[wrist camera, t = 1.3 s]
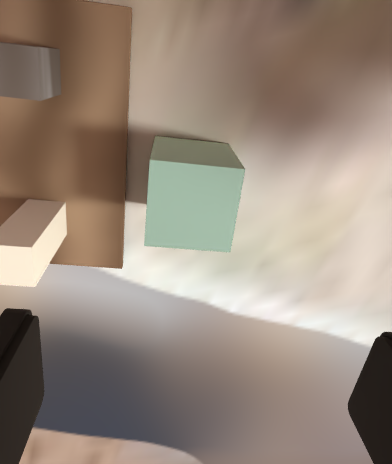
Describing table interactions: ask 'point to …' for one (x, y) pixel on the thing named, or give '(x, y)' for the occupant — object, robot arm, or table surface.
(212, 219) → the mint green cube
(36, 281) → the cream post
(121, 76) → the walnut board
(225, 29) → the table surface
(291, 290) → the table surface
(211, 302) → the table surface
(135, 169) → the table surface
